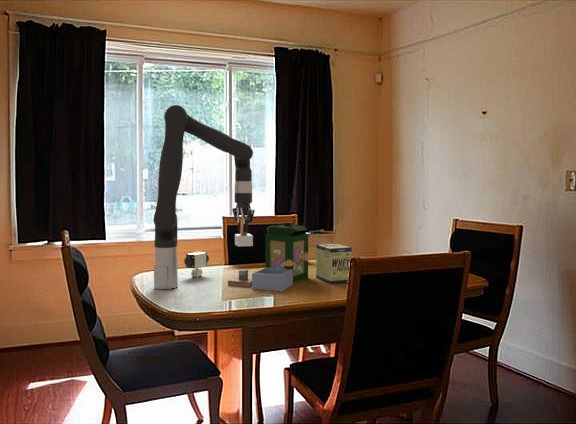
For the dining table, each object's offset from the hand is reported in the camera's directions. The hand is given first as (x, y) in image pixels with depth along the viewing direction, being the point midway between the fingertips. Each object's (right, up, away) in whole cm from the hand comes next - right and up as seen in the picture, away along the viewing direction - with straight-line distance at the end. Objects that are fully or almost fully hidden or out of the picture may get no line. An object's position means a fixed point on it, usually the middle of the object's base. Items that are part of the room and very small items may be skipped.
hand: (243, 231), depth 241 cm
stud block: (0, -23, +2) cm, 23 cm away
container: (+18, -22, +14) cm, 32 cm away
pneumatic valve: (-23, -21, +18) cm, 36 cm away
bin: (+13, -23, -4) cm, 27 cm away
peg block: (0, -6, +1) cm, 6 cm away
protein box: (+39, -22, +11) cm, 47 cm away
